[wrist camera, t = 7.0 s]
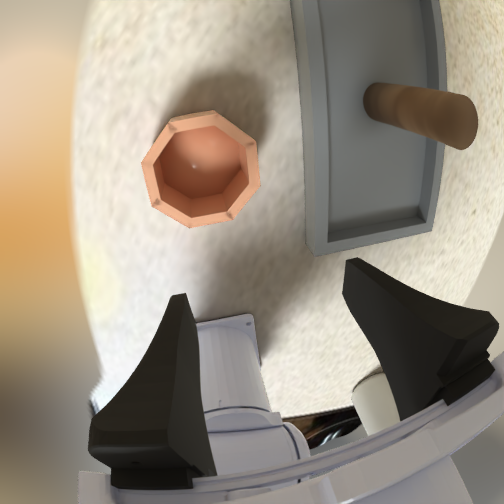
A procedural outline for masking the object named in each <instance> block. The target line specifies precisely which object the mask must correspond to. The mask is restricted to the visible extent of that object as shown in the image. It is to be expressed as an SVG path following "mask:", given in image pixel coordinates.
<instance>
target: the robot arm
mask: <svg viewBox="0 0 504 504" xmlns="http://www.w3.org/2000/svg"><path fill="white" fill-rule="evenodd" d="M342 295H343V297H344V299H345V301H346V304H347V306H348V308H349V310H350V312H351V314H352V315H353V317H354V318H355V320H356V322H357V323H358V325H359V326H360V328H361V330H362V331H363V333H364V334H365V336H366V338H367V339H368V341H369V342H370V344H371V346H372V347H373V349H374V351H375V353H376V355H377V357H378V359H379V361H380V364H381V366H382V368H383V370H384V373H385V375H386V378H387V380H388V383H389V386H390V389H391V391H392V394H393V397H394V400H395V404H396V407H397V411H398V414H399V418H400V422H399V423H396V424H394V425H392V426H390V427H388V428H386V429H383V430H381V431H379V432H377V433H374V434H372V435H369V436H367V437H365V438H362V439H360V440H357V441H354V442H352V443H349V444H346V445H344V446H341V447H338V448H335V449H332V450H329V451H326V452H323V453H320V454H317V455H313V456H310V451H309V447H308V444H307V442H306V440H305V438H304V436H303V434H302V433H301V432H300V431H299V430H298V429H297V428H296V427H295V426H294V425H293V424H291V423H289V422H284V423H283V422H282V419H281V415H280V413H279V412H272V411H271V407H270V404H269V400H268V397H267V393H266V389H265V386H264V382H263V378H262V375H261V367H260V360H259V353H258V346H257V339H256V332H255V325H254V318H253V315H252V314H243V315H238V316H233V317H228V318H223V319H218V320H213V321H207V322H202V323H195V320H194V317H193V314H192V311H191V308H190V305H189V301H188V298H187V295H186V293H183V294H178V295H172V296H171V298H170V300H169V303H168V306H167V308H166V311H165V313H164V316H163V318H162V321H161V323H160V325H159V327H158V329H157V332H156V334H155V336H154V338H153V340H152V342H151V344H150V346H149V348H148V349H147V351H146V353H145V355H144V356H143V358H142V360H141V361H140V363H139V365H138V366H137V368H136V369H135V371H134V372H133V373H132V375H131V376H130V378H129V379H128V380H127V382H126V383H125V384H124V386H123V387H122V388H121V389H120V390H119V391H118V393H117V394H116V395H115V396H114V397H113V398H112V400H111V401H110V402H109V403H108V404H107V405H106V406H105V407H104V408H103V409H102V410H100V411H99V412H98V413H97V414H96V415H95V416H94V417H93V418H92V420H91V425H90V430H89V442H88V451H89V453H90V454H91V456H93V457H94V458H95V459H97V460H98V461H100V462H102V463H104V464H105V465H107V466H108V467H110V468H111V475H109V474H106V473H99V472H88V471H79V475H78V476H79V477H78V478H79V479H78V504H473V502H472V500H471V498H470V495H469V493H468V491H467V489H466V487H465V485H464V483H463V481H462V479H461V477H460V475H459V472H458V471H457V468H456V466H455V464H454V463H453V461H452V459H451V457H450V455H451V454H453V453H454V452H455V451H457V450H458V449H460V448H461V447H463V446H464V445H465V444H466V443H468V442H469V441H471V440H472V439H473V438H475V437H476V436H477V435H478V434H480V433H481V432H482V431H483V430H485V429H486V428H487V427H488V426H489V425H491V424H492V423H493V422H494V421H495V420H496V419H498V418H499V417H500V416H501V415H502V414H503V413H504V352H502V353H501V354H500V355H499V356H497V357H496V358H495V359H494V360H493V361H492V362H491V363H490V361H489V360H488V358H489V356H490V354H489V353H488V352H487V348H488V347H489V345H490V344H491V342H492V341H493V339H494V337H495V336H496V334H497V331H498V329H499V323H498V322H497V321H496V319H495V318H494V317H493V316H492V315H491V314H490V312H488V311H482V310H476V309H470V308H466V307H462V306H458V305H454V304H451V303H448V302H445V301H442V300H439V299H436V298H433V297H431V296H429V295H426V294H424V293H422V292H419V291H417V290H415V289H413V288H411V287H409V286H407V285H405V284H403V283H402V282H400V281H398V280H396V279H394V278H393V277H391V276H389V275H387V274H386V273H384V272H382V271H381V270H379V269H377V268H376V267H374V266H372V265H371V264H369V263H367V262H365V261H364V260H362V259H360V258H358V257H357V258H353V259H348V260H346V265H345V274H344V283H343V291H342ZM247 322H249V323H247ZM386 447H387V448H386ZM363 457H364V458H363ZM358 459H359V460H358ZM353 461H354V462H353ZM348 463H349V464H348ZM345 464H347V465H345ZM343 465H344V466H343ZM340 466H342V467H340ZM337 467H339V468H337ZM334 468H337V469H336V470H333V471H331V472H329V473H327V474H324V475H322V476H319V477H316V478H313V479H310V480H309V478H310V476H312V475H315V474H318V473H322V472H325V471H328V470H331V469H334Z"/></svg>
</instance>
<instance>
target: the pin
mask: <svg viewBox="0 0 504 504" xmlns="http://www.w3.org/2000/svg"><path fill="white" fill-rule="evenodd" d="M363 105H364V109H365V111H366V113H367V115H368V116H369V117H370V118H371V119H373V120H375V121H378V122H382V123H385V124H388V125H392V126H395V127H398V128H401V129H404V130H408V131H411V132H414V133H416V134H419V135H422V136H425V137H428V138H430V139H433V140H436V141H438V142H441V143H444V144H446V145H449V146H451V147H454V148H456V149H459V150H464V149H466V148H468V147H469V146H470V145H471V144H472V142H473V141H474V139H475V136H476V133H477V129H478V116H477V111H476V108H475V106H474V104H473V102H472V101H471V100H470V99H469V98H468V97H467V96H465V95H460V94H456V93H451V92H446V91H440V90H435V89H429V88H422V87H415V86H408V85H399V84H389V83H373V84H371V85H370V86H369V87H368V88H367V89H366V91H365V93H364V96H363Z"/></svg>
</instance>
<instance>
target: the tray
mask: <svg viewBox="0 0 504 504" xmlns="http://www.w3.org/2000/svg"><path fill="white" fill-rule="evenodd" d="M290 5H291V12H292V20H293V29H294V38H295V47H296V57H297V67H298V78H299V90H300V104H301V119H302V136H303V156H304V182H305V236H306V245H307V246H308V248H309V249H310V251H311V252H312V254H313V255H314V257H316V256H321V255H326V254H331V253H335V252H340V251H345V250H349V249H354V248H359V247H363V246H368V245H372V244H377V243H381V242H386V241H390V240H395V239H399V238H404V237H408V236H413V235H417V234H422V233H426V232H430V231H432V227H433V223H434V218H435V213H436V207H437V201H438V196H439V189H440V183H441V175H442V167H443V159H444V149H445V144H444V143H441V142H438V141H436V140H433V139H430V138H428V137H425V136H422V135H419V134H416V133H414V132H411V131H408V130H404V129H401V128H398V127H395V126H392V125H388V124H385V123H382V122H378V121H375V120H373V119H371V118H370V117H369V116H368V115H367V113H366V111H365V109H364V105H363V96H364V93H365V91H366V89H367V88H368V87H369V86H370V85H371V84H373V83H389V84H399V85H408V86H415V87H422V88H429V89H435V90H440V91H446V92H447V68H446V52H445V40H444V31H443V23H442V16H441V9H440V3H439V0H290Z"/></svg>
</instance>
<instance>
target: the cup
mask: <svg viewBox="0 0 504 504" xmlns="http://www.w3.org/2000/svg"><path fill="white" fill-rule="evenodd" d="M141 165H142V169H143V173H144V178H145V182H146V186H147V190H148V194H149V198H150V202H151V205H152V207H154V208H156V209H157V210H159V211H161V212H162V213H164V214H166V215H167V216H169V217H171V218H173V219H174V220H176V221H178V222H179V223H181V224H183V225H185V226H186V227H188V228H193V227H198V226H203V225H208V224H214V223H219V222H224V221H230V220H233V219H234V218H235V216H236V215H237V214H238V213H239V212H240V210H241V209H242V208H243V207H244V205H245V204H246V203H247V202H248V200H249V199H250V198H251V197H252V195H253V194H254V193H255V192H256V191H257V189H258V188H259V187H260V186H261V185H260V176H259V166H258V156H257V146H256V141H255V140H254V139H253V138H251V137H250V136H249V135H248V134H246V133H245V132H244V131H242V130H241V129H239V128H238V127H237V126H235V125H234V124H233V123H231V122H230V121H229V120H227V119H226V118H224V117H223V116H221V115H220V114H219V113H217V112H216V111H215V110H211V111H205V112H197V113H191V114H187V115H183V116H178V117H173V118H171V119H170V121H169V122H168V124H167V125H166V126H165V128H164V129H163V131H162V132H161V134H160V135H159V136H158V138H157V139H156V141H155V142H154V144H153V145H152V147H151V148H150V150H149V151H148V153H147V154H146V156H145V157H144V159H143V161H142V162H141Z"/></svg>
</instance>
